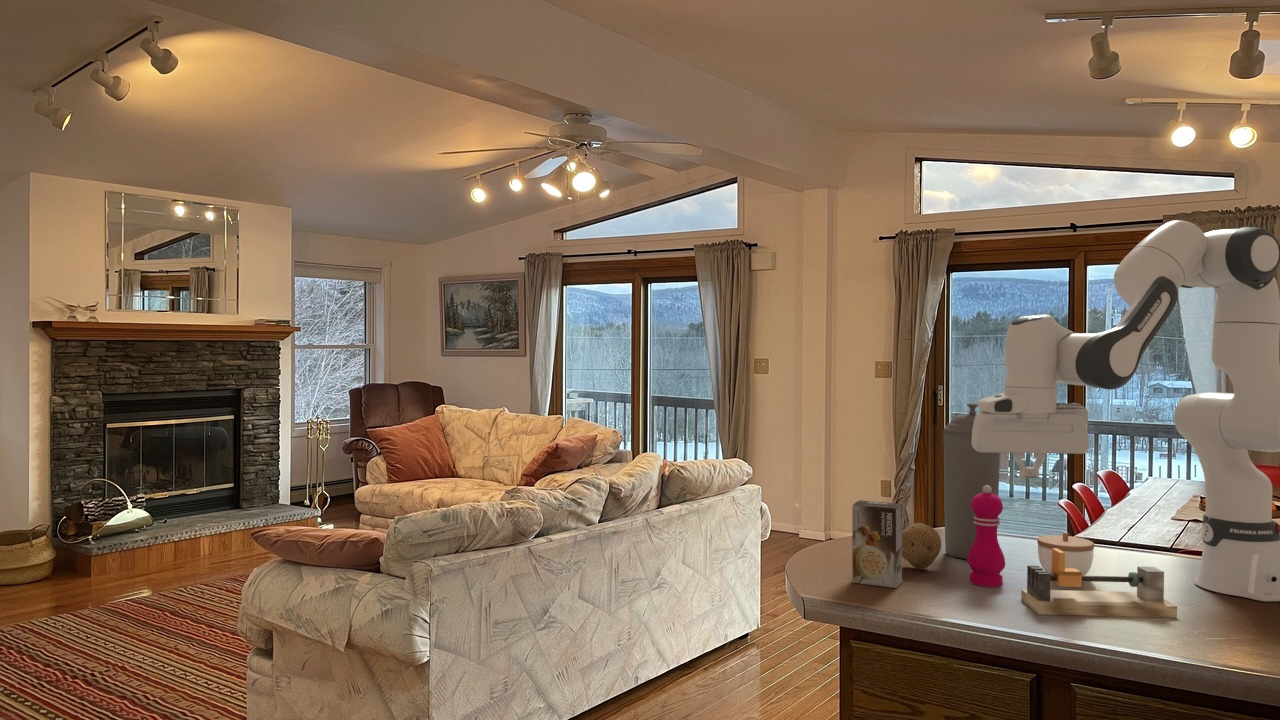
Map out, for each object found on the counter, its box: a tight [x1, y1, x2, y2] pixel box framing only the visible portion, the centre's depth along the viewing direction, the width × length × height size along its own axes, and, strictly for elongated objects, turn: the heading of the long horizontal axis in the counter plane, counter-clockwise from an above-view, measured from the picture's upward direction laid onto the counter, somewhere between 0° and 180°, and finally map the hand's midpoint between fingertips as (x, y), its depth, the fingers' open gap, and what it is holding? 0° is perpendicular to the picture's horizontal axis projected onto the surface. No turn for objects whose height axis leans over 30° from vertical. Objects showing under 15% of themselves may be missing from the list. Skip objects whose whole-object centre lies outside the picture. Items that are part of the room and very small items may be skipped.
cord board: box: [1020, 564, 1178, 618], centre depth 166 cm, size 24×9×8 cm, turn 86°
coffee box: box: [851, 500, 903, 589], centre depth 183 cm, size 9×6×16 cm
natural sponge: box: [902, 522, 942, 570], centre depth 193 cm, size 9×9×10 cm
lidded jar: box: [1036, 531, 1095, 576], centre depth 187 cm, size 11×11×9 cm
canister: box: [942, 402, 1001, 560], centre depth 206 cm, size 13×13×35 cm
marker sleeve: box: [1051, 548, 1083, 588], centre depth 166 cm, size 4×3×6 cm
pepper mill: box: [966, 485, 1006, 588], centre depth 182 cm, size 7×7×20 cm
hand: (1029, 477), depth 166 cm, fingers closed
